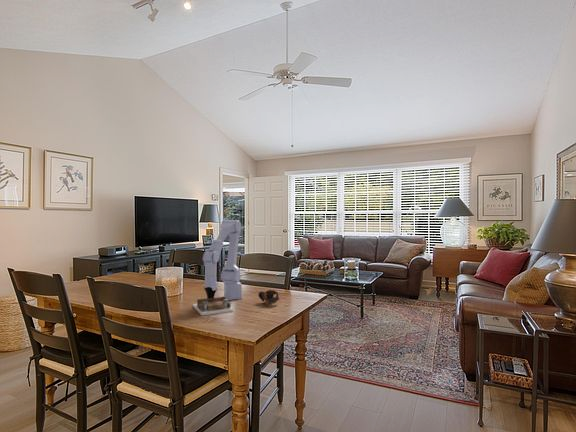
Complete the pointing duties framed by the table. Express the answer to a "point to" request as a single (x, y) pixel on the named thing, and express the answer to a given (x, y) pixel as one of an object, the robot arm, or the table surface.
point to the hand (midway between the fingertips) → (210, 301)
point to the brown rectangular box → (212, 303)
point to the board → (216, 311)
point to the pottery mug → (268, 297)
